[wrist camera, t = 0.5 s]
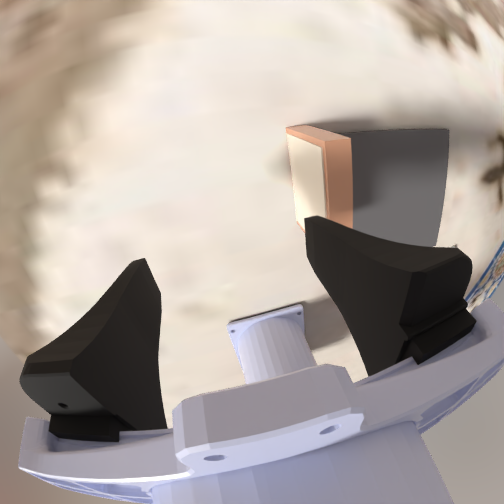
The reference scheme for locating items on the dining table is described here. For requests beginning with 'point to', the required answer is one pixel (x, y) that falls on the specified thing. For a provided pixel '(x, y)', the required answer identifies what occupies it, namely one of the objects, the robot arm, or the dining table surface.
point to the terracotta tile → (321, 174)
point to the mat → (399, 183)
